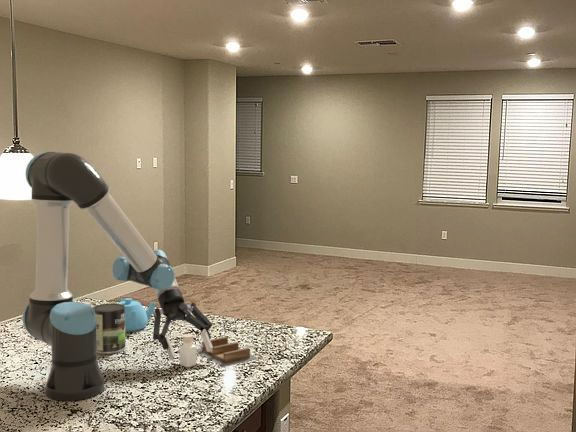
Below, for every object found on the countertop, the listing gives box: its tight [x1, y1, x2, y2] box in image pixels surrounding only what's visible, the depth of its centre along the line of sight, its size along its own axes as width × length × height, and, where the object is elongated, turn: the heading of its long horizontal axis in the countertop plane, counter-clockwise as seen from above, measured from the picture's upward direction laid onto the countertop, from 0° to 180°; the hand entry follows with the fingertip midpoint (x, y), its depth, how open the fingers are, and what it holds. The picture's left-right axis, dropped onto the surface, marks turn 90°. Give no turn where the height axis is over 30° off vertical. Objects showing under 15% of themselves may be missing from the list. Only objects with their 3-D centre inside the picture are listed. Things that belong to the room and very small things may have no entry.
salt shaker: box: [178, 333, 198, 368], centre depth 191 cm, size 4×4×10 cm
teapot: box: [116, 297, 157, 333], centre depth 229 cm, size 15×15×11 cm
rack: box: [201, 336, 251, 364], centre depth 200 cm, size 15×9×3 cm, turn 37°
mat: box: [196, 342, 259, 368], centre depth 201 cm, size 19×13×1 cm
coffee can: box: [92, 302, 127, 355], centre depth 204 cm, size 10×10×14 cm
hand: (191, 353), depth 189 cm, fingers open, 12 cm apart
